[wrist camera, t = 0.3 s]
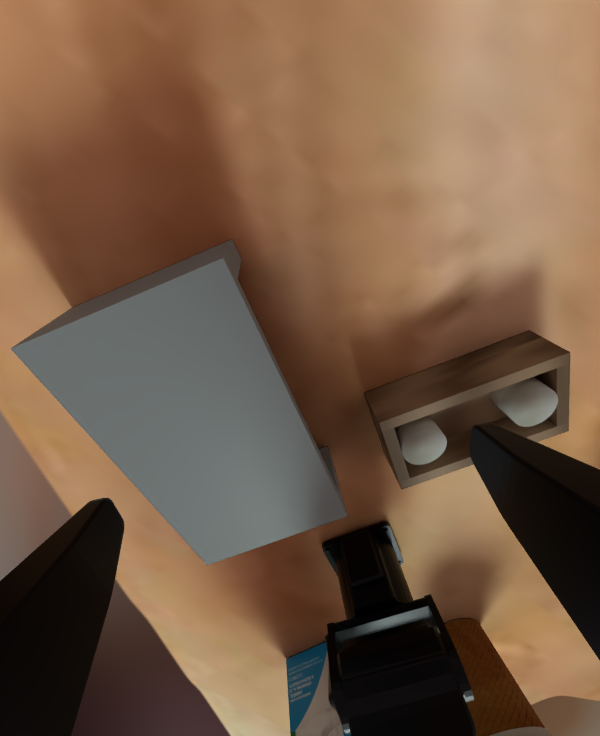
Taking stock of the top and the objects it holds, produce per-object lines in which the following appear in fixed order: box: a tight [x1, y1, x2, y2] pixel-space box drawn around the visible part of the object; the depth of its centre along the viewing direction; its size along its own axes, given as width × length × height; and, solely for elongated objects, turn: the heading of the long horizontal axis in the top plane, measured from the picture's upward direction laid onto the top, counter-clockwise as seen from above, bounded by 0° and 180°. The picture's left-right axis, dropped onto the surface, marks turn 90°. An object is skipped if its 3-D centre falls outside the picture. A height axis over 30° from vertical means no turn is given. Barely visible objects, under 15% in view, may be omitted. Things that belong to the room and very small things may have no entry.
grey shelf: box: [11, 239, 348, 565], centre depth 21 cm, size 17×10×6 cm, turn 21°
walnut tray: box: [364, 330, 570, 489], centre depth 24 cm, size 12×6×4 cm, turn 111°
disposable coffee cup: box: [445, 619, 552, 736], centre depth 38 cm, size 10×10×12 cm
